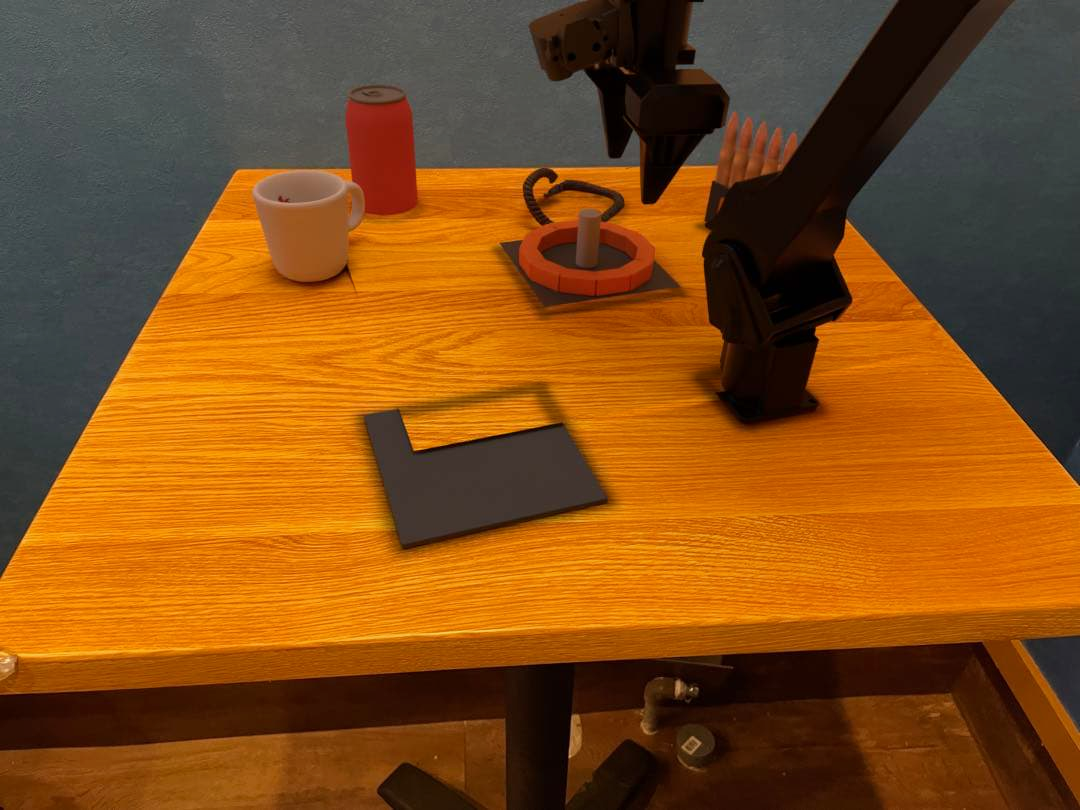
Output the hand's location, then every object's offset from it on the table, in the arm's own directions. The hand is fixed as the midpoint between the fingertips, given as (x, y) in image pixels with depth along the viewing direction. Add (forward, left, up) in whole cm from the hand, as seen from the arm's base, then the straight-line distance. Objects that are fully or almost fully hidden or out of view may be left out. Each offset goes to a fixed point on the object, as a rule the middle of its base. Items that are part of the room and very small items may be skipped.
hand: (630, 179), depth 66 cm
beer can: (+25, +16, -11) cm, 31 cm away
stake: (+6, +1, -11) cm, 12 cm away
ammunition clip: (+7, -17, -11) cm, 22 cm away
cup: (+14, +24, -11) cm, 30 cm away
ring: (+6, +1, -10) cm, 12 cm away
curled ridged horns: (+18, -2, -11) cm, 21 cm away
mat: (-17, +18, -11) cm, 27 cm away
